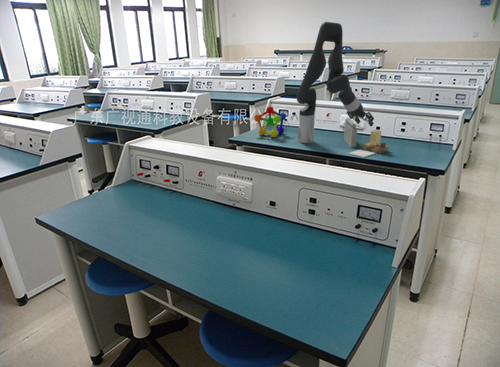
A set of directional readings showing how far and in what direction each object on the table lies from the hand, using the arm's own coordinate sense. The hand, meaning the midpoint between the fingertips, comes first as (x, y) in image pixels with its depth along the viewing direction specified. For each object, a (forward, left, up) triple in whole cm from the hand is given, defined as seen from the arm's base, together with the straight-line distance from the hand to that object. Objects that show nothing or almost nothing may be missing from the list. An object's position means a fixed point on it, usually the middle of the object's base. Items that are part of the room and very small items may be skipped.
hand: (365, 123), depth 195 cm
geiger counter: (-22, +13, -17) cm, 31 cm away
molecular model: (-70, -10, -17) cm, 73 cm away
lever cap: (0, +10, -14) cm, 17 cm away
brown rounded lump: (0, +10, -17) cm, 19 cm away
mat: (0, -1, -17) cm, 17 cm away
